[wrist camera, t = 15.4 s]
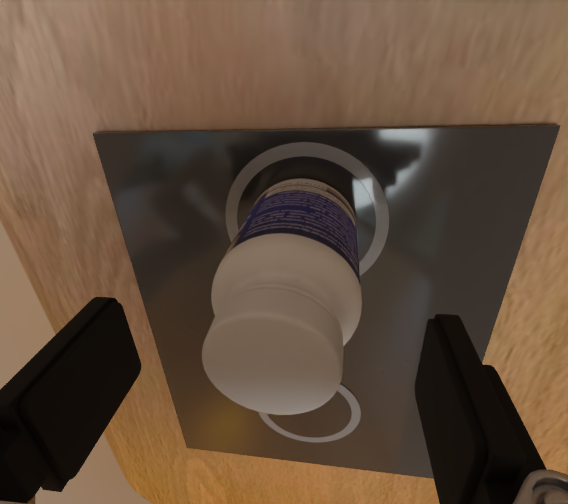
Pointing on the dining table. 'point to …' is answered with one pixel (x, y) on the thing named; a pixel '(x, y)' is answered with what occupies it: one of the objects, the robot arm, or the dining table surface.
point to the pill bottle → (286, 301)
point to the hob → (372, 262)
